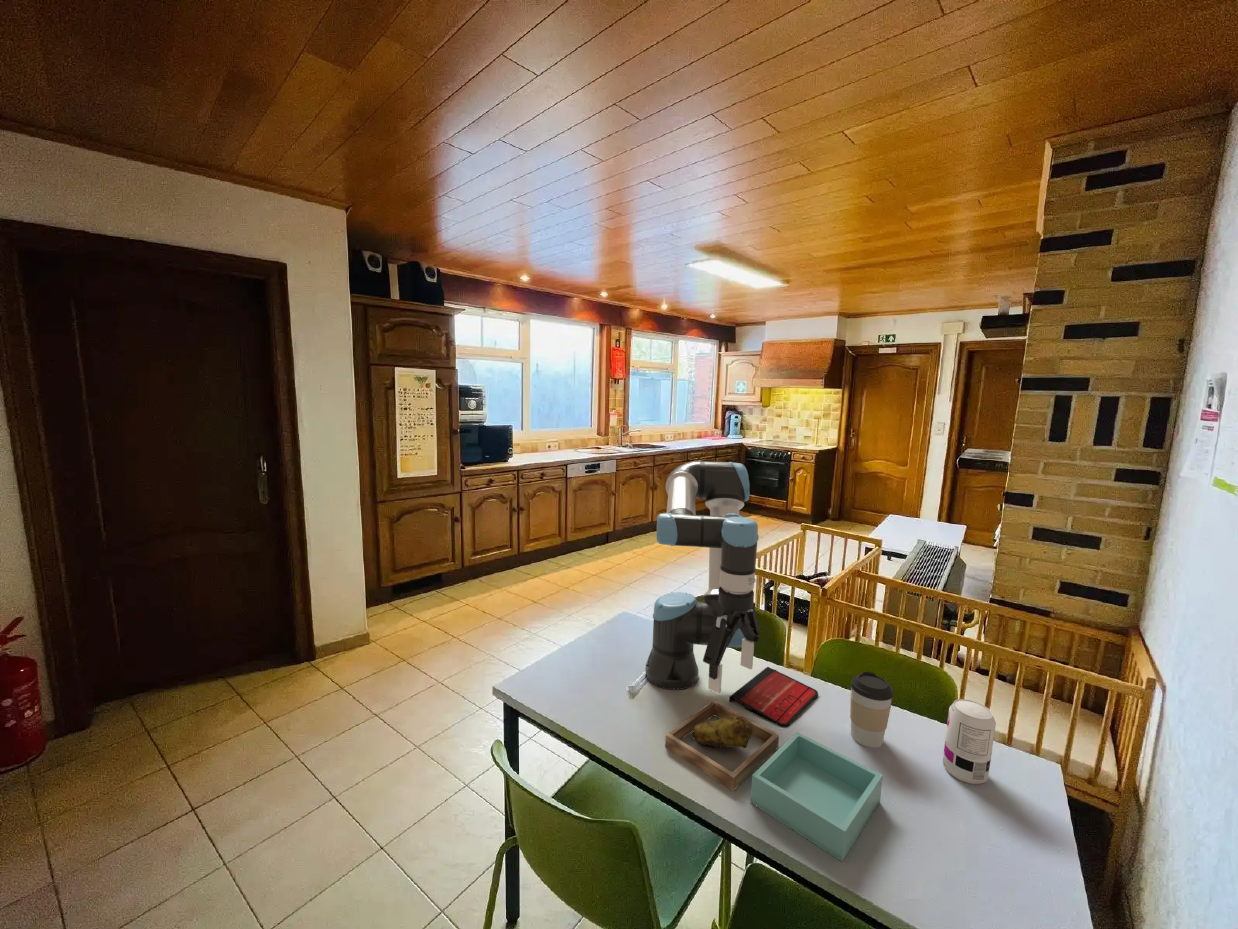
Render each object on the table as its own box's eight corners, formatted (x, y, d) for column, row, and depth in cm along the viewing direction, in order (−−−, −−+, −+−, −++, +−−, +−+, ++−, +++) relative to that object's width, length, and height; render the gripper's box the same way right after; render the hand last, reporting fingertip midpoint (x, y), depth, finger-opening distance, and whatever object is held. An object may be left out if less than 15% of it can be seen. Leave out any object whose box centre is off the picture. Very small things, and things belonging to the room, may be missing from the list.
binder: (729, 695, 134) (767, 665, 150) (728, 703, 135) (766, 672, 150) (787, 725, 124) (821, 690, 139) (785, 733, 124) (820, 697, 139)
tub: (750, 802, 102) (752, 775, 101) (794, 756, 115) (796, 731, 114) (842, 862, 89) (845, 831, 88) (879, 802, 102) (882, 775, 101)
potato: (704, 726, 124) (706, 696, 123) (755, 749, 117) (757, 717, 116) (688, 744, 118) (689, 713, 117) (740, 770, 110) (742, 736, 109)
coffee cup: (893, 754, 116) (900, 693, 114) (850, 747, 118) (856, 687, 116) (881, 728, 125) (887, 671, 123) (842, 723, 127) (847, 666, 125)
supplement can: (933, 764, 113) (941, 702, 111) (958, 755, 117) (966, 694, 114) (971, 791, 106) (980, 724, 104) (996, 780, 109) (1005, 715, 107)
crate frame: (665, 746, 117) (665, 734, 116) (713, 711, 130) (713, 700, 130) (733, 791, 104) (733, 777, 104) (778, 747, 118) (779, 735, 117)
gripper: (720, 610, 100) (714, 709, 104) (778, 578, 118) (772, 664, 122) (689, 599, 106) (684, 694, 109) (749, 570, 124) (744, 652, 127)
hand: (731, 678), depth 115 cm, fingers open, 13 cm apart
